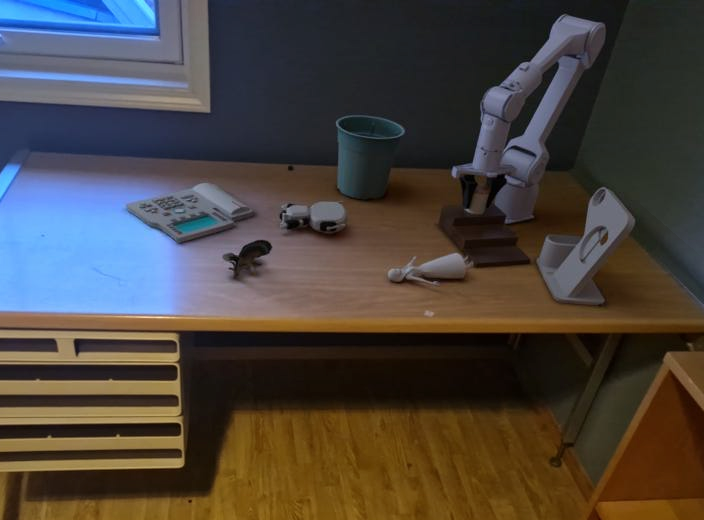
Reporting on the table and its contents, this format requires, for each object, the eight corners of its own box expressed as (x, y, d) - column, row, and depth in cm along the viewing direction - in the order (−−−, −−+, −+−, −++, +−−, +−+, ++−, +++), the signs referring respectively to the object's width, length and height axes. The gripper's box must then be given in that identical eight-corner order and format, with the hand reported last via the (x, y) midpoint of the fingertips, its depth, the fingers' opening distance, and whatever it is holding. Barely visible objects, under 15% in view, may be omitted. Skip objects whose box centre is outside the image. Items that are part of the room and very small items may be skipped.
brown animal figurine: (259, 282, 125) (280, 255, 131) (239, 252, 122) (261, 225, 128) (232, 289, 130) (253, 263, 136) (211, 260, 127) (234, 234, 132)
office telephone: (211, 177, 159) (263, 208, 148) (211, 188, 160) (262, 219, 149) (124, 198, 146) (174, 233, 135) (125, 209, 147) (174, 245, 136)
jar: (475, 204, 152) (481, 181, 149) (489, 212, 149) (495, 189, 146) (459, 207, 150) (465, 184, 147) (473, 216, 147) (479, 192, 144)
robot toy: (278, 240, 143) (347, 241, 143) (277, 221, 140) (348, 221, 140) (280, 215, 153) (345, 216, 153) (280, 197, 150) (346, 197, 150)
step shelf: (437, 225, 154) (442, 205, 150) (487, 222, 157) (493, 202, 154) (475, 267, 139) (481, 246, 136) (529, 263, 142) (536, 242, 139)
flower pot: (369, 173, 175) (377, 111, 165) (407, 198, 164) (419, 133, 154) (316, 182, 168) (322, 118, 158) (353, 208, 157) (361, 141, 147)
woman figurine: (485, 268, 129) (400, 281, 125) (481, 287, 132) (398, 300, 128) (458, 240, 138) (378, 251, 134) (455, 258, 141) (376, 270, 137)
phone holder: (534, 258, 144) (560, 180, 133) (580, 262, 144) (609, 184, 133) (555, 302, 130) (586, 218, 119) (606, 306, 130) (641, 222, 119)
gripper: (467, 155, 136) (453, 215, 144) (529, 153, 140) (512, 212, 148) (453, 142, 141) (440, 201, 150) (513, 141, 145) (497, 199, 153)
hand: (475, 206), depth 149 cm, fingers closed on jar, 4 cm apart
